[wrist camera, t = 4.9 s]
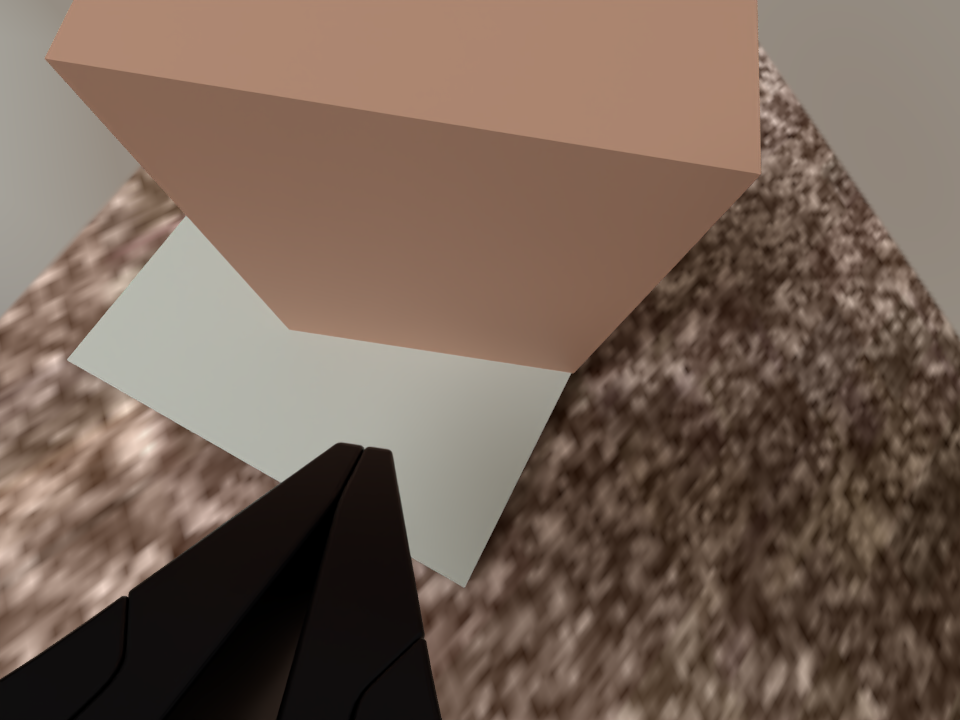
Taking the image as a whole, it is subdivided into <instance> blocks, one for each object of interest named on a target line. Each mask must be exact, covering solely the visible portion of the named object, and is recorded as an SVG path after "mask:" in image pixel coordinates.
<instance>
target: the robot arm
mask: <svg viewBox="0 0 960 720" xmlns="http://www.w3.org/2000/svg"><path fill="white" fill-rule="evenodd" d="M424 636H425V634H424V628H423V622H422V617H421V611H420V605H419V600H418V594H417V588H416V583H415V577H414V571H413V566H412V560H411V554H410V549H409V543H408V537H407V532H406V526H405V520H404V515H403V509H402V503H401V498H400V492H399V486H398V481H397V475H396V470H395V464H394V458H393V453H392V451H391V450H389V449H384V448H377V447H371V446H369V447H366V448H365V449H364V447H363V446H362V445H357V444H351V443H344V442H339V443H336V444H334V445H333V446H332V447H330V448H329V449H327V450H326V451H325V452H323V453H322V454H320V455H319V456H318V457H316V458H315V459H313V460H312V461H311V462H309V463H308V464H306V465H305V466H304V467H302V468H301V469H299V470H298V471H297V472H295V473H294V474H292V475H291V476H290V477H288V478H287V479H285V480H284V481H283V482H281V483H280V484H278V485H277V486H276V487H274V488H273V489H272V490H270V491H269V492H267V493H266V494H265V495H263V496H262V497H260V498H259V499H258V500H256V501H255V502H253V503H252V504H251V505H249V506H248V507H246V508H245V509H244V510H242V511H241V512H239V513H238V514H237V515H235V516H234V517H232V518H231V519H230V520H228V521H227V522H225V523H224V524H223V525H221V526H220V527H218V528H217V529H216V530H214V531H213V532H211V533H210V534H209V535H207V536H206V537H204V538H203V539H202V540H200V541H199V542H197V543H196V544H195V545H193V546H192V547H190V548H189V549H188V550H186V551H185V552H184V553H182V554H181V555H179V556H178V557H177V558H175V559H174V560H172V561H171V562H170V563H168V564H167V565H165V566H164V567H163V568H161V569H160V570H158V571H157V572H156V573H154V574H153V575H151V576H150V577H149V578H147V579H146V580H144V581H143V582H142V583H140V584H139V585H137V586H136V587H135V588H133V589H132V590H131V591H130V592H129V594H128V597H127V596H122V597H120V598H119V599H117V600H116V601H115V602H113V603H112V604H110V605H109V606H108V607H106V608H105V609H103V610H102V611H101V612H99V613H98V614H96V615H95V616H94V617H92V618H91V619H89V620H88V621H87V622H85V623H84V624H82V625H81V626H79V627H78V628H76V629H75V630H73V631H72V632H71V633H69V634H68V635H66V636H65V637H63V638H62V639H60V640H59V641H57V642H56V643H55V644H53V645H52V646H50V647H49V648H47V649H46V650H44V651H43V652H41V653H40V654H39V655H37V656H36V657H34V658H33V659H31V660H30V661H28V662H26V663H25V664H23V665H22V666H20V667H19V668H17V669H15V670H14V671H12V672H11V673H9V674H8V675H6V676H5V677H3V678H1V679H0V720H442V718H441V714H440V709H439V704H438V699H437V695H436V690H435V685H434V681H433V676H432V671H431V666H430V660H429V655H428V649H427V643H426V640H425V639H424Z"/></svg>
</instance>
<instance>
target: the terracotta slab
mask: <svg viewBox="0 0 960 720" xmlns="http://www.w3.org/2000/svg"><path fill="white" fill-rule="evenodd" d="M45 59H46V60H47V62H48V63H49V64H50V65H51V66H52V67H53V68H54V69H55V70H56V71H57V73H58V74H59V75H60V76H61V77H62V78H63V79H64V81H65V82H66V83H67V84H68V85H69V86H70V87H71V88H72V89H73V90H74V91H75V93H76V94H77V95H78V96H79V97H80V98H81V99H82V100H83V101H84V103H85V104H86V105H87V106H88V107H89V108H90V109H91V110H92V111H93V113H94V114H95V115H96V116H97V117H98V118H99V119H100V120H101V122H102V123H103V124H104V125H105V126H106V127H107V128H108V129H109V130H110V131H111V133H112V134H113V135H114V136H115V137H116V138H117V139H118V140H119V141H120V143H121V144H122V145H123V146H124V147H125V148H126V149H127V150H128V151H129V152H130V154H131V155H132V156H133V157H134V158H135V159H136V160H137V161H138V163H139V164H140V165H141V166H142V167H143V168H144V169H145V170H146V171H147V173H148V174H149V175H150V176H151V177H152V178H153V179H154V180H155V181H156V183H157V184H158V185H159V186H160V187H161V188H162V189H163V190H164V191H165V193H166V194H167V195H168V196H169V197H170V198H171V199H172V200H173V201H174V203H175V204H176V205H177V206H178V207H179V208H180V209H181V210H182V211H183V212H184V214H185V215H186V216H187V217H188V218H189V219H190V220H191V221H192V222H193V224H194V225H195V226H196V227H197V228H198V229H199V230H200V231H201V232H202V234H203V235H204V236H205V237H206V238H207V239H208V240H209V241H210V242H211V244H212V245H213V246H214V247H215V248H216V249H217V250H218V251H219V252H220V254H221V255H222V256H223V257H224V258H225V259H226V260H227V261H228V262H229V263H230V265H231V266H232V267H233V268H234V269H235V270H236V271H237V272H238V273H239V275H240V276H241V277H242V278H243V279H244V280H245V281H246V282H247V283H248V285H249V286H250V287H251V288H252V289H253V290H254V291H255V292H256V293H257V295H258V296H259V297H260V298H261V299H262V300H263V301H264V302H265V303H266V305H267V306H268V307H269V308H270V309H271V310H272V311H273V312H274V313H275V315H276V316H277V317H278V318H279V319H280V320H281V321H282V322H283V323H284V324H285V326H286V327H287V328H288V329H289V330H295V331H301V332H308V333H314V334H321V335H327V336H334V337H340V338H347V339H353V340H360V341H366V342H373V343H379V344H386V345H392V346H399V347H405V348H412V349H418V350H425V351H432V352H438V353H445V354H451V355H458V356H464V357H471V358H477V359H484V360H490V361H497V362H503V363H510V364H516V365H523V366H529V367H536V368H542V369H549V370H555V371H562V372H568V373H575V372H576V370H577V369H578V368H579V367H580V366H581V365H582V364H583V363H584V362H585V361H586V360H587V359H588V358H589V357H590V356H591V355H592V353H593V352H594V351H595V350H596V349H597V348H598V347H599V346H600V345H601V344H602V343H603V342H604V341H605V340H606V339H607V338H608V336H609V335H610V334H611V333H612V332H613V331H614V330H615V329H616V328H617V327H618V326H619V325H620V324H621V323H622V322H623V321H624V319H625V318H626V317H627V316H628V315H629V314H630V313H631V312H632V311H633V310H634V309H635V308H636V307H637V306H638V305H639V304H640V302H641V301H642V300H643V299H644V298H645V297H646V296H647V295H648V294H649V293H650V292H651V291H652V290H653V289H654V288H655V287H656V285H657V284H658V283H659V282H660V281H661V280H662V279H663V278H664V277H665V276H666V275H667V274H668V273H669V272H670V271H671V269H672V268H673V267H674V266H675V265H676V264H677V263H678V262H679V261H680V260H681V259H682V258H683V257H684V256H685V255H686V254H687V252H688V251H689V250H690V249H691V248H692V247H693V246H694V245H695V244H696V243H697V242H698V241H699V240H700V239H701V238H702V237H703V235H704V234H705V233H706V232H707V231H708V230H709V229H710V228H711V227H712V226H713V225H714V224H715V223H716V222H717V221H718V220H719V218H720V217H721V216H722V215H723V214H724V213H725V212H726V211H727V210H728V209H729V208H730V207H731V206H732V205H733V204H734V203H735V201H736V200H737V199H738V198H739V197H740V196H741V195H742V194H743V193H744V192H745V191H746V190H747V189H748V188H749V187H750V186H751V184H752V183H753V182H754V181H755V180H756V179H757V178H758V177H759V176H760V175H761V147H760V101H759V56H758V11H757V0H73V3H72V4H71V6H70V8H69V10H68V13H67V15H66V16H65V19H64V21H63V23H62V25H61V27H60V29H59V31H58V33H57V35H56V37H55V39H54V41H53V43H52V45H51V47H50V49H49V51H48V53H47V55H46V57H45Z"/></svg>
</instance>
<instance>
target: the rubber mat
mask: <svg viewBox="0 0 960 720" xmlns="http://www.w3.org/2000/svg"><path fill="white" fill-rule="evenodd" d="M67 360H68V361H70V362H71V363H73V364H75V365H77V366H78V367H80V368H82V369H84V370H85V371H87V372H89V373H91V374H92V375H94V376H96V377H98V378H99V379H101V380H103V381H104V382H106V383H108V384H110V385H111V386H113V387H115V388H117V389H118V390H120V391H122V392H124V393H125V394H127V395H129V396H131V397H132V398H134V399H136V400H138V401H139V402H141V403H143V404H145V405H146V406H148V407H150V408H152V409H153V410H155V411H157V412H159V413H160V414H162V415H164V416H166V417H167V418H169V419H171V420H173V421H174V422H176V423H178V424H179V425H181V426H183V427H185V428H186V429H188V430H190V431H192V432H193V433H195V434H197V435H199V436H200V437H202V438H204V439H206V440H207V441H209V442H211V443H213V444H214V445H216V446H218V447H220V448H221V449H223V450H225V451H227V452H228V453H230V454H232V455H234V456H235V457H237V458H239V459H241V460H242V461H244V462H246V463H248V464H249V465H251V466H253V467H255V468H256V469H258V470H260V471H261V472H263V473H265V474H267V475H268V476H270V477H272V478H274V479H275V480H277V481H279V482H283V481H284V480H285V479H287V478H288V477H290V476H291V475H292V474H294V473H295V472H297V471H298V470H299V469H301V468H302V467H304V466H305V465H306V464H308V463H309V462H311V461H312V460H313V459H315V458H316V457H318V456H319V455H320V454H322V453H323V452H325V451H326V450H327V449H329V448H330V447H332V446H333V445H334V444H336V443H339V442H344V443H351V444H357V445H362V446H363V447H364V449H365V448H366V447H369V446H371V447H377V448H384V449H389V450H391V451H392V453H393V458H394V464H395V470H396V475H397V481H398V486H399V492H400V498H401V503H402V509H403V515H404V520H405V526H406V532H407V537H408V543H409V549H410V554H411V558H413V559H415V560H417V561H418V562H420V563H422V564H424V565H425V566H427V567H429V568H431V569H432V570H434V571H436V572H438V573H439V574H441V575H443V576H445V577H446V578H448V579H450V580H452V581H453V582H455V583H457V584H459V585H460V586H462V587H464V588H465V586H466V584H467V582H468V580H469V578H470V576H471V574H472V572H473V570H474V568H475V566H476V564H477V562H478V560H479V558H480V556H481V554H482V552H483V550H484V548H485V546H486V544H487V542H488V540H489V538H490V536H491V534H492V532H493V530H494V528H495V526H496V524H497V522H498V520H499V518H500V516H501V514H502V512H503V510H504V508H505V506H506V504H507V502H508V500H509V497H510V495H511V493H512V491H513V489H514V487H515V485H516V483H517V481H518V479H519V477H520V475H521V473H522V471H523V469H524V467H525V465H526V463H527V461H528V459H529V457H530V455H531V453H532V451H533V449H534V447H535V445H536V443H537V441H538V439H539V437H540V435H541V433H542V431H543V429H544V427H545V425H546V423H547V421H548V419H549V417H550V415H551V413H552V411H553V409H554V407H555V405H556V403H557V401H558V399H559V397H560V395H561V393H562V391H563V389H564V387H565V385H566V383H567V381H568V379H569V377H570V375H571V373H568V372H562V371H555V370H549V369H542V368H536V367H529V366H523V365H516V364H510V363H503V362H497V361H490V360H484V359H477V358H471V357H464V356H458V355H451V354H445V353H438V352H432V351H425V350H418V349H412V348H405V347H399V346H392V345H386V344H379V343H373V342H366V341H360V340H353V339H347V338H340V337H334V336H327V335H321V334H314V333H308V332H301V331H295V330H289V329H288V328H287V327H286V326H285V324H284V323H283V322H282V321H281V320H280V319H279V318H278V317H277V316H276V315H275V313H274V312H273V311H272V310H271V309H270V308H269V307H268V306H267V305H266V303H265V302H264V301H263V300H262V299H261V298H260V297H259V296H258V295H257V293H256V292H255V291H254V290H253V289H252V288H251V287H250V286H249V285H248V283H247V282H246V281H245V280H244V279H243V278H242V277H241V276H240V275H239V273H238V272H237V271H236V270H235V269H234V268H233V267H232V266H231V265H230V263H229V262H228V261H227V260H226V259H225V258H224V257H223V256H222V255H221V254H220V252H219V251H218V250H217V249H216V248H215V247H214V246H213V245H212V244H211V242H210V241H209V240H208V239H207V238H206V237H205V236H204V235H203V234H202V232H201V231H200V230H199V229H198V228H197V227H196V226H195V225H194V224H193V222H192V221H191V220H190V219H189V218H188V217H187V216H186V217H185V218H184V219H183V220H182V221H181V223H180V224H179V225H178V226H177V227H176V229H175V230H174V231H173V232H172V233H171V235H170V236H169V237H168V238H167V240H166V241H165V242H164V243H163V244H162V246H161V247H160V248H159V249H158V250H157V252H156V253H155V254H154V255H153V256H152V258H151V259H150V260H149V261H148V262H147V264H146V265H145V266H144V267H143V269H142V270H141V271H140V272H139V273H138V275H137V276H136V277H135V278H134V279H133V281H132V282H131V283H130V284H129V285H128V287H127V288H126V289H125V290H124V291H123V293H122V294H121V295H120V296H119V298H118V299H117V300H116V301H115V302H114V304H113V305H112V306H111V307H110V308H109V310H108V311H107V312H106V313H105V314H104V316H103V317H102V318H101V319H100V320H99V322H98V323H97V324H96V325H95V327H94V328H93V329H92V330H91V331H90V333H89V334H88V335H87V336H86V337H85V339H84V340H83V341H82V342H81V343H80V345H79V346H78V347H77V348H76V349H75V351H74V352H73V353H72V354H71V356H70V357H69V358H68V359H67Z"/></svg>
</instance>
